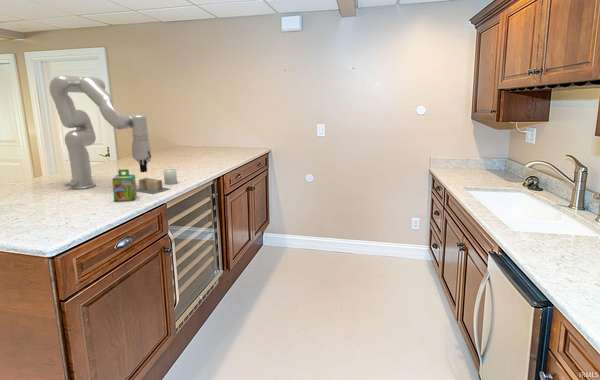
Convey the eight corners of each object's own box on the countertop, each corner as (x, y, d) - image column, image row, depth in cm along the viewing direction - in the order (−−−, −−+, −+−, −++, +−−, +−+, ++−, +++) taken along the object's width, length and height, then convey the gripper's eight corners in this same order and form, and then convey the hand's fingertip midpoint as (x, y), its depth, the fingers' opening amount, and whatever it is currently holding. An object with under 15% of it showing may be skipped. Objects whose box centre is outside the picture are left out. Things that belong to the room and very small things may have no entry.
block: (139, 188, 206) (155, 191, 201) (138, 179, 205) (154, 182, 200) (146, 186, 210) (162, 189, 205) (146, 178, 209) (161, 180, 204)
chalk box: (114, 202, 181) (110, 172, 177) (117, 197, 189) (114, 168, 186) (134, 200, 183) (131, 171, 180) (137, 196, 192) (134, 167, 188)
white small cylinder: (170, 185, 216) (169, 171, 214) (162, 183, 219) (160, 170, 217) (179, 182, 222) (178, 169, 220) (170, 181, 225) (169, 168, 223)
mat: (153, 194, 196) (153, 193, 196) (134, 191, 202) (134, 190, 202) (170, 189, 206) (170, 188, 206) (151, 186, 212) (151, 185, 212)
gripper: (125, 138, 201) (128, 171, 205) (145, 139, 194) (148, 174, 199) (136, 137, 207) (139, 169, 212) (156, 138, 201) (159, 171, 205)
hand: (143, 171), depth 205 cm, fingers closed
